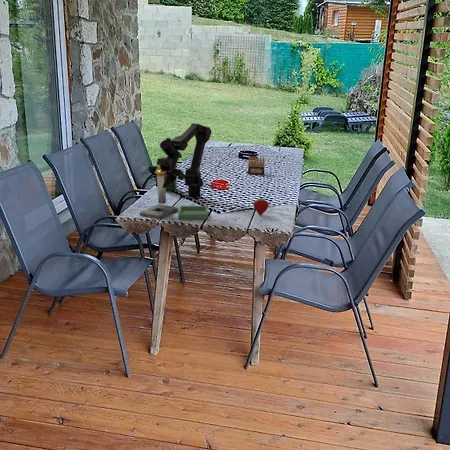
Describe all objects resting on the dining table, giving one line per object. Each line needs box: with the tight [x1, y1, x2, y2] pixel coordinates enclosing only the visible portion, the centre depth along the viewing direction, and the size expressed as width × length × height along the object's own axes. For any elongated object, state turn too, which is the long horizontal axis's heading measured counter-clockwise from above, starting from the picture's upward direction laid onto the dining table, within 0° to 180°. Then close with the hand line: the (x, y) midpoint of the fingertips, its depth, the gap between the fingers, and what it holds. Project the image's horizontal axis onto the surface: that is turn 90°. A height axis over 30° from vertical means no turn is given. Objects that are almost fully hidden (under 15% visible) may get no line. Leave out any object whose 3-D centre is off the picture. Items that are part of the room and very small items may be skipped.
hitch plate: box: [139, 203, 179, 220], centre depth 262 cm, size 16×12×2 cm
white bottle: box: [156, 170, 167, 205], centre depth 261 cm, size 5×5×16 cm
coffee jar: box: [158, 156, 178, 192], centre depth 302 cm, size 10×8×19 cm
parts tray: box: [177, 205, 209, 220], centre depth 260 cm, size 14×14×2 cm
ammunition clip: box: [247, 155, 266, 176], centre depth 341 cm, size 11×2×12 cm, turn 83°
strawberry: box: [253, 197, 270, 216], centre depth 259 cm, size 6×8×10 cm
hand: (160, 187), depth 260 cm, fingers closed on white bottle, 4 cm apart
